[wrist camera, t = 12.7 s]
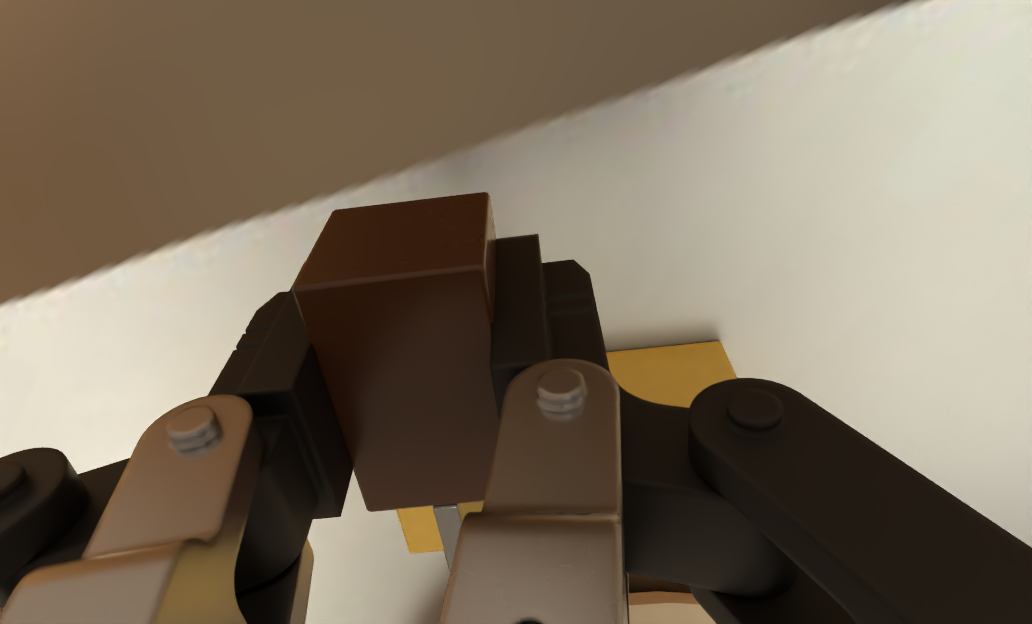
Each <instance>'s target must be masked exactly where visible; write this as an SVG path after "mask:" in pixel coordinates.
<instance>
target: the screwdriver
mask: <svg viewBox="0 0 1032 624" xmlns="http://www.w3.org/2000/svg"><path fill="white" fill-rule="evenodd" d="M496 248H497V239H496V233H495V226H494V220H493V213H492V206H491V200H490V196H489V194H488V193H486V192H481V193H473V194H465V195H456V196H448V197H439V198H431V199H423V200H414V201H406V202H398V203H389V204H381V205H373V206H364V207H356V208H347V209H339V210H335V211H333V212H332V214H331V216H330V217H329V219H328V221H327V223H326V225H325V227H324V229H323V230H322V232H321V234H320V236H319V238H318V240H317V242H316V243H315V245H314V247H313V249H312V251H311V253H310V255H309V256H308V258H307V260H306V262H305V264H304V266H303V268H302V269H301V271H300V273H299V275H298V277H297V279H296V281H295V283H294V284H293V287H292V291H293V294H294V297H295V300H296V303H297V306H298V309H299V312H300V315H301V318H302V321H303V324H304V327H305V329H306V332H307V335H308V338H309V341H310V343H311V344H312V347H313V350H314V353H315V356H316V359H317V361H318V364H319V367H320V370H321V373H322V376H323V379H324V382H325V385H326V388H327V391H328V394H329V397H330V400H331V403H332V405H333V408H334V411H335V414H336V417H337V420H338V423H339V426H340V429H341V432H342V435H343V438H344V441H345V444H346V447H347V449H348V452H349V455H350V458H351V461H352V464H353V470H354V473H355V475H356V478H357V481H358V484H359V487H360V490H361V493H362V496H363V499H364V502H365V505H366V508H367V510H368V511H370V512H374V511H385V510H395V509H406V508H417V507H427V506H433V512H434V515H435V519H436V523H437V526H438V530H439V534H440V538H441V541H442V545H443V549H444V553H445V556H446V560H447V564H448V567H449V571H451V567H452V562H453V558H454V553H455V549H456V544H457V540H458V535H459V531H460V528H461V525H462V522H463V519H464V517H465V516H466V514H467V513H469V512H481V511H482V508H483V503H484V498H485V493H486V488H487V482H488V477H489V472H490V467H491V462H492V457H493V451H494V446H495V441H496V436H497V431H498V426H499V416H498V411H497V405H496V400H495V394H494V388H493V383H492V377H491V371H490V350H491V323H493V322H494V320H495V284H496Z"/></svg>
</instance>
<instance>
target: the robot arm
mask: <svg viewBox="0 0 1032 624" xmlns="http://www.w3.org/2000/svg"><path fill="white" fill-rule="evenodd" d="M304 264H305V263H304ZM304 264H303V266H304ZM303 266H302V268H303ZM302 268H301V269H302ZM300 271H301V270H300ZM299 273H300V272H299ZM298 275H299V274H298ZM297 277H298V276H297ZM296 279H297V278H296ZM295 281H296V280H295ZM294 283H295V282H294ZM294 283H293V284H294ZM292 287H293V285H292ZM292 287H291V289H290V291H288V292H279V293H278V294H276V295H275V296H274V297H273V298H271V299H270V300H269V301H268V302H267V303H265V304H264V305H263V306H262V307H261V308H259V309H258V310H257V311H256V313H255V315H254V316H253V318H252V320H251V321H250V323H249V325H248V327H247V328H246V334H243V335H242V337H241V339H240V340H239V342H238V344H237V346H236V348H237V350H234V351H233V352H232V354H231V356H230V358H229V359H228V361H227V363H226V365H225V366H224V368H223V370H222V371H221V373H220V375H219V377H218V378H217V380H216V382H215V384H214V385H213V387H212V389H211V390H210V392H209V394H208V396H206V397H201V398H198V399H195V400H192V401H189V402H186V403H184V404H182V405H180V406H178V407H176V408H174V409H172V410H170V411H169V412H167V413H165V414H164V415H162V416H161V417H160V418H158V419H157V420H156V421H155V422H154V423H153V424H151V425H150V426H149V427H148V428H147V430H146V431H145V432H144V433H143V435H142V436H141V438H140V440H139V441H138V443H137V445H136V447H135V449H134V452H133V454H132V456H131V458H128V459H125V460H122V461H119V462H116V463H113V464H109V465H106V466H103V467H100V468H97V469H94V470H90V471H87V472H84V473H81V474H77V473H76V471H75V470H74V468H73V467H72V465H71V464H70V462H69V461H68V459H67V457H66V456H65V455H64V454H63V453H62V452H61V451H59V450H57V449H53V448H32V449H27V450H23V451H19V452H16V453H12V454H10V455H7V456H4V457H2V458H0V606H1V607H2V608H3V610H2V611H1V613H0V624H305V619H306V612H307V605H308V598H309V591H310V584H311V577H312V570H313V563H314V555H313V551H312V548H311V546H310V544H309V541H308V539H307V536H308V532H309V529H310V526H311V523H312V519H322V518H332V517H341V513H342V509H343V506H344V502H345V498H346V494H347V490H348V486H349V483H350V479H351V475H352V471H353V464H352V461H351V458H350V455H349V452H348V449H347V447H346V444H345V441H344V438H343V435H342V432H341V429H340V426H339V423H338V420H337V417H336V414H335V411H334V408H333V405H332V403H331V400H330V397H329V394H328V391H327V388H326V385H325V382H324V379H323V376H322V373H321V370H320V367H319V364H318V361H317V359H316V356H315V353H314V350H313V347H312V344H311V343H310V341H309V338H308V335H307V332H306V329H305V327H304V324H303V321H302V318H301V315H300V312H299V309H298V306H297V303H296V300H295V297H294V294H293V291H292ZM490 371H491V377H492V383H493V388H494V394H495V400H496V405H497V411H498V416H499V426H498V431H497V436H496V441H495V446H494V451H493V457H492V462H491V467H490V472H489V477H488V482H487V488H486V493H485V498H484V503H483V508H482V511H481V512H469V513H467V514H466V516H465V517H464V519H463V522H462V525H461V528H460V531H459V535H458V540H457V544H456V549H455V553H454V558H453V562H452V567H451V571H450V576H449V580H448V585H447V589H446V594H445V598H444V603H443V607H442V612H441V616H440V621H439V624H630V614H629V581H628V573H632V574H637V575H642V576H646V577H651V578H656V579H661V580H665V581H670V582H675V583H679V584H684V585H688V587H689V589H690V591H691V593H692V595H693V596H694V598H695V599H696V601H697V602H698V603H699V604H700V605H701V607H702V608H703V609H704V610H705V611H706V612H707V614H708V615H709V616H710V617H711V618H712V619H713V620H714V622H715V623H716V624H1032V548H1031V547H1030V546H1028V545H1027V544H1025V543H1024V542H1022V541H1021V540H1019V539H1018V538H1016V537H1015V536H1013V535H1012V534H1010V533H1009V532H1007V531H1006V530H1004V529H1003V528H1001V527H1000V526H998V525H997V524H995V523H994V522H992V521H991V520H989V519H988V518H986V517H985V516H983V515H982V514H980V513H979V512H977V511H976V510H974V509H973V508H971V507H970V506H968V505H967V504H965V503H964V502H962V501H961V500H959V499H958V498H956V497H955V496H953V495H952V494H950V493H949V492H947V491H946V490H944V489H943V488H941V487H940V486H938V485H937V484H935V483H934V482H932V481H931V480H929V479H928V478H926V477H925V476H923V475H922V474H920V473H919V472H917V471H916V470H914V469H913V468H911V467H910V466H908V465H907V464H905V463H904V462H902V461H901V460H899V459H898V458H896V457H895V456H893V455H892V454H890V453H889V452H887V451H886V450H884V449H883V448H881V447H880V446H878V445H877V444H875V443H874V442H872V441H871V440H869V439H868V438H866V437H865V436H864V435H862V434H861V433H859V432H858V431H856V430H855V429H853V428H852V427H850V426H849V425H847V424H846V423H844V422H843V421H841V420H840V419H838V418H837V417H835V416H834V415H832V414H831V413H829V412H828V411H826V410H825V409H823V408H822V407H820V406H819V405H817V404H816V403H814V402H813V401H811V400H810V399H808V398H807V397H805V396H804V395H802V394H801V393H799V392H797V391H795V390H794V389H792V388H790V387H787V386H785V385H783V384H779V383H776V382H773V381H768V380H763V379H754V378H737V379H729V380H725V381H721V382H718V383H715V384H713V385H710V386H709V387H707V388H705V389H703V390H702V391H701V392H700V393H699V394H697V396H696V397H695V398H694V399H693V401H692V403H691V405H690V408H687V407H679V406H671V405H664V404H658V403H654V402H650V401H647V400H644V399H641V398H639V397H636V396H634V395H632V394H631V393H629V392H627V391H626V390H625V389H623V388H622V387H621V386H620V385H619V384H618V383H617V381H616V379H615V378H614V377H613V375H612V374H611V372H610V369H609V364H608V360H607V355H606V350H605V345H604V340H603V336H602V331H601V326H600V321H599V316H598V312H597V307H596V302H595V297H594V293H593V287H592V283H591V278H590V274H589V273H588V272H587V271H586V270H585V269H584V268H582V267H581V266H580V265H579V264H578V263H577V262H576V261H575V260H565V261H556V262H547V263H542V260H541V252H540V243H539V235H538V234H533V235H525V236H516V237H507V238H499V239H497V248H496V284H495V320H494V322H493V323H491V350H490Z"/></svg>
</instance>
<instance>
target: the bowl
mask: <svg viewBox="0 0 1032 624" xmlns="http://www.w3.org/2000/svg"><path fill="white" fill-rule="evenodd" d="M629 614H630V624H716V623H715V622H714V620H713V619H712V618H711V617H710V616H709V615H708V614H707V612H706V611H705V610H704V609H703V608H702V607H701V605H700V604H699V603H698V602H697V601H696V599H695V598H694V596H693V595H692V593H677V592H659V591H655V592H640V593H629Z"/></svg>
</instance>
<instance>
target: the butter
mask: <svg viewBox="0 0 1032 624" xmlns="http://www.w3.org/2000/svg"><path fill="white" fill-rule="evenodd" d="M606 355H607V360H608V364H609V369H610V372H611V374H612V375H613V377H614V378H615V379H616V381H617V383H618V384H619V385H620V386H621V387H622V388H623V389H625V390H626V391H627V392H629V393H631V394H632V395H634V396H636V397H639V398H641V399H644V400H647V401H650V402H654V403H658V404H664V405H671V406H679V407H687V408H690V405H691V403H692V401H693V399H694V398H695V397H696V396H697V394H699V393H700V392H701V391H702V390H703V389H705V388H707V387H709V386H710V385H713V384H715V383H718V382H721V381H725V380H729V379H737V377H736V375H735V372H734V370H733V368H732V366H731V364H730V361H729V359H728V357H727V355H726V353H725V350H724V348H723V346H722V344H721V342H720V341H715V342H705V343H695V344H685V345H675V346H665V347H655V348H645V349H635V350H625V351H615V352H606Z"/></svg>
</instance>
